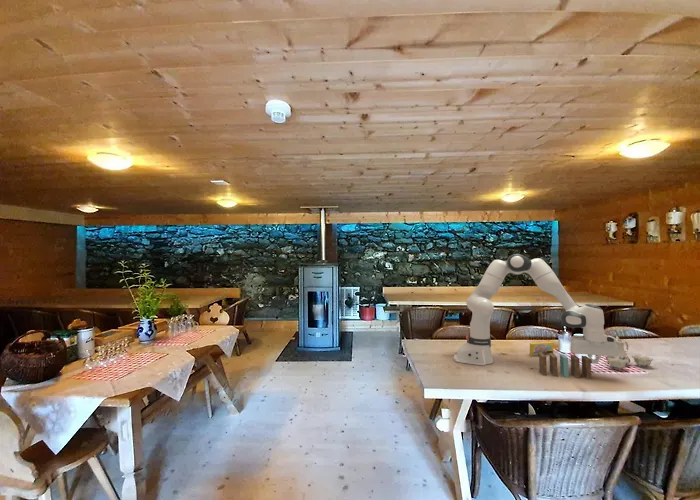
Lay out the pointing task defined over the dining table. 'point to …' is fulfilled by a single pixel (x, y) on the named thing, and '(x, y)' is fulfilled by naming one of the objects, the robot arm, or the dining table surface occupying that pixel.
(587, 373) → the domino
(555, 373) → the domino
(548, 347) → the candy box
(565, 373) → the placed domino
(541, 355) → the domino
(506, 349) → the dining table surface
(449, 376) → the dining table surface
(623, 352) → the chinaware
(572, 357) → the domino
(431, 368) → the dining table surface
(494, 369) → the dining table surface
